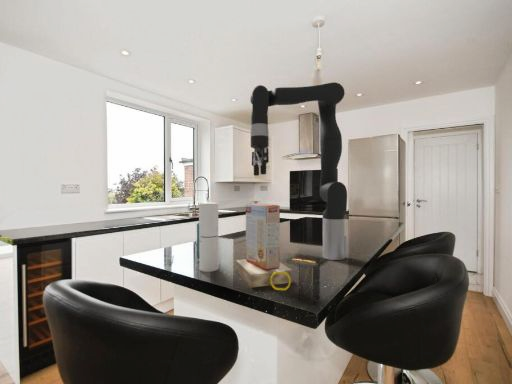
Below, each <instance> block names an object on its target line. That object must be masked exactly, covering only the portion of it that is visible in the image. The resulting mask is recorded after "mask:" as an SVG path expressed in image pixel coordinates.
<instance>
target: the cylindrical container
mask: <svg viewBox="0 0 512 384" xmlns="http://www.w3.org/2000/svg"><path fill="white" fill-rule="evenodd" d="M198 223H199V259H198V260H199V265H198V266H199V267H198V268H199V271H201V272H205V273H207V272H208V273H210V272H211V273H212V272H215V271H218V270H219V263H220V260H219V202H199V203H198Z"/></svg>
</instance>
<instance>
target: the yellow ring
mask: <svg viewBox="0 0 512 384" xmlns="http://www.w3.org/2000/svg"><path fill="white" fill-rule="evenodd" d="M276 273H277V274H283V273H284V274H285V275H287V277H288V279H289V283H287V284H288V285H287V286H286V287H277V286H275V285H273V282H272V277H273V276H274V275H275V274H276ZM270 283H271V285H270V286H271V288H273V289H274V290H275V291H287V290H288V289H289V288H290V286H291V280H290V276H289V275H288V273H286V272H285V270H284V269H277V270H276V272H274V273H273V274H272V276H271V279H270Z"/></svg>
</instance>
